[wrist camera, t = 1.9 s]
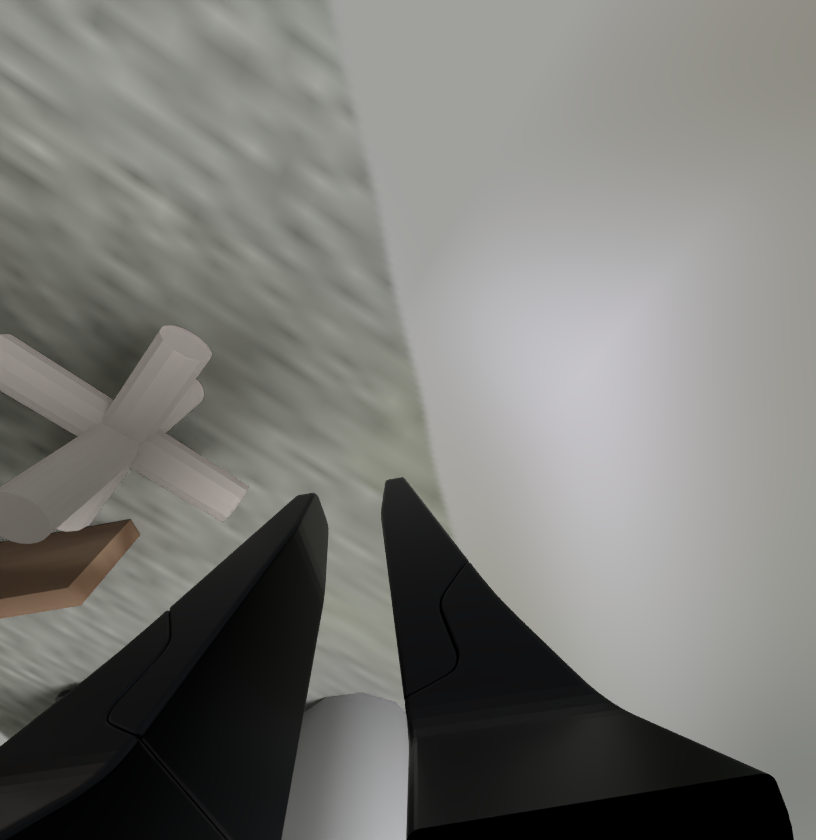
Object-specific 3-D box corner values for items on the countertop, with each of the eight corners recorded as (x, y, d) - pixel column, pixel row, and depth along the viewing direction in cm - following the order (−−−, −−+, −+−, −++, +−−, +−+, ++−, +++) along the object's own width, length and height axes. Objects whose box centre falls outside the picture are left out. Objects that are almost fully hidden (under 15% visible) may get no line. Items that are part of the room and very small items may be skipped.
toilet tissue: (420, 774, 37) (426, 918, 29) (282, 741, 34) (249, 893, 26) (470, 722, 33) (493, 870, 26) (323, 681, 31) (298, 834, 23)
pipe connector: (45, 397, 20) (-241, 532, 11) (138, 237, 17) (-149, 243, 8) (220, 503, 23) (108, 676, 14) (324, 383, 20) (267, 505, 11)
